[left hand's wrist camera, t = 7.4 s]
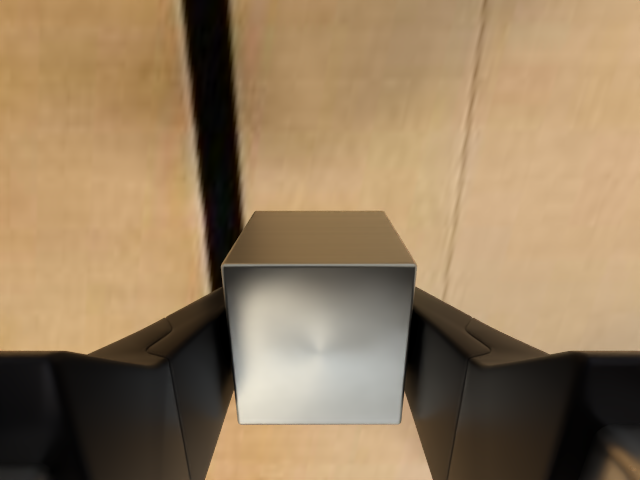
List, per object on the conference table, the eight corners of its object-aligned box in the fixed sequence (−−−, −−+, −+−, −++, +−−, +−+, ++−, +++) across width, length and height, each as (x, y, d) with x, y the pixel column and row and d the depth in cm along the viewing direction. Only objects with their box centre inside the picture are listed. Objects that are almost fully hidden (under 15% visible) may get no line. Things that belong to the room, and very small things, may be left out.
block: (384, 210, 11) (418, 264, 7) (376, 329, 13) (401, 426, 9) (254, 210, 11) (219, 264, 7) (262, 329, 13) (237, 426, 9)
